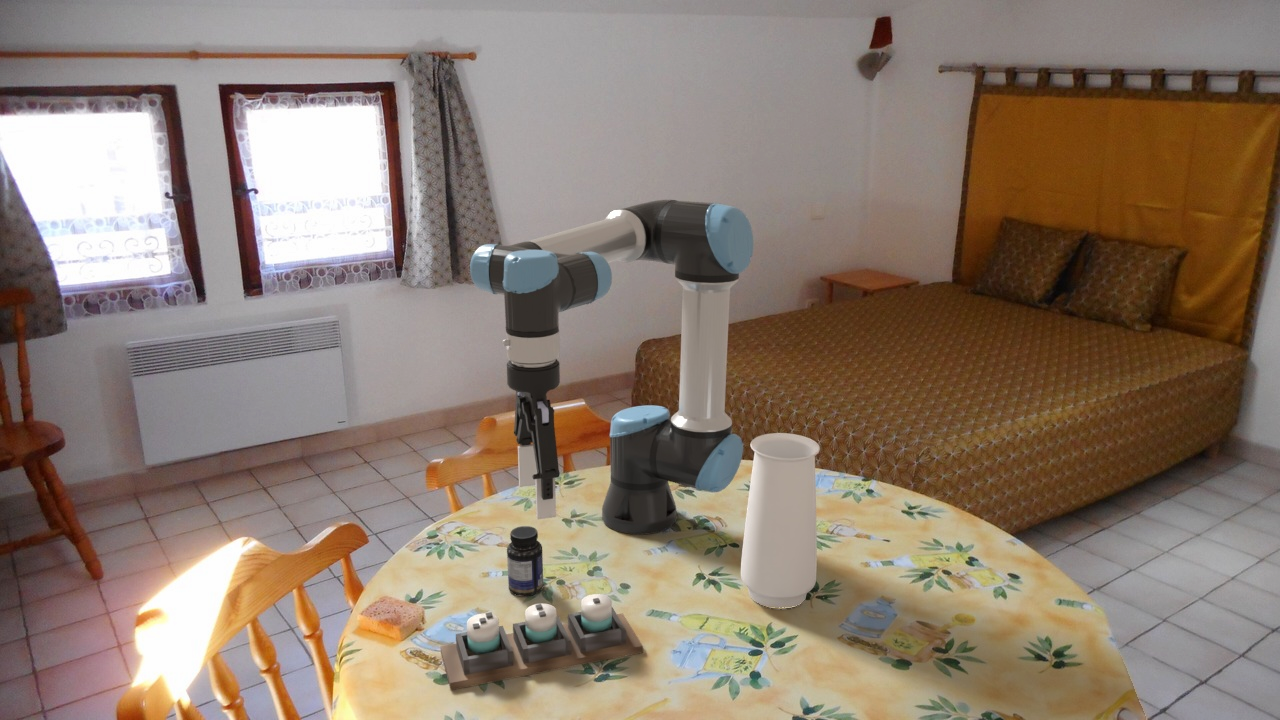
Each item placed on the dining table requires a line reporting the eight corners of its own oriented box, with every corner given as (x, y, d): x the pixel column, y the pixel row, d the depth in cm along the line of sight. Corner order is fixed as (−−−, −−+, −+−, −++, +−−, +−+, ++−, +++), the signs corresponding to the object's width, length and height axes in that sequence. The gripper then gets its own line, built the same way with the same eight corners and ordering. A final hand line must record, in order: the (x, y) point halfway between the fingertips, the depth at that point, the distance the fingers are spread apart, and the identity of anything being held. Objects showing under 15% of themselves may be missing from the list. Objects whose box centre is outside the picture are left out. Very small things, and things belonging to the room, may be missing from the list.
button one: (606, 613, 158) (606, 589, 157) (615, 629, 154) (615, 604, 153) (578, 619, 157) (577, 594, 156) (586, 634, 153) (586, 610, 151)
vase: (743, 572, 178) (749, 428, 170) (816, 580, 176) (825, 434, 167) (735, 610, 166) (741, 456, 158) (813, 618, 163) (823, 463, 155)
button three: (496, 633, 153) (495, 608, 152) (502, 650, 148) (501, 625, 147) (465, 639, 151) (464, 614, 150) (470, 656, 147) (469, 630, 146)
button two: (552, 623, 156) (551, 599, 154) (560, 639, 151) (559, 614, 150) (522, 629, 154) (522, 604, 153) (529, 645, 150) (528, 620, 148)
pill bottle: (529, 576, 177) (527, 520, 173) (550, 588, 172) (549, 532, 169) (501, 588, 172) (499, 531, 169) (522, 601, 168) (520, 543, 165)
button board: (622, 619, 163) (622, 599, 162) (642, 652, 154) (642, 631, 153) (440, 652, 153) (439, 632, 152) (450, 690, 144) (449, 668, 143)
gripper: (491, 340, 149) (496, 473, 156) (525, 387, 128) (529, 538, 134) (539, 336, 152) (542, 467, 158) (580, 381, 130) (582, 531, 137)
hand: (536, 500), depth 146 cm, fingers open, 11 cm apart
